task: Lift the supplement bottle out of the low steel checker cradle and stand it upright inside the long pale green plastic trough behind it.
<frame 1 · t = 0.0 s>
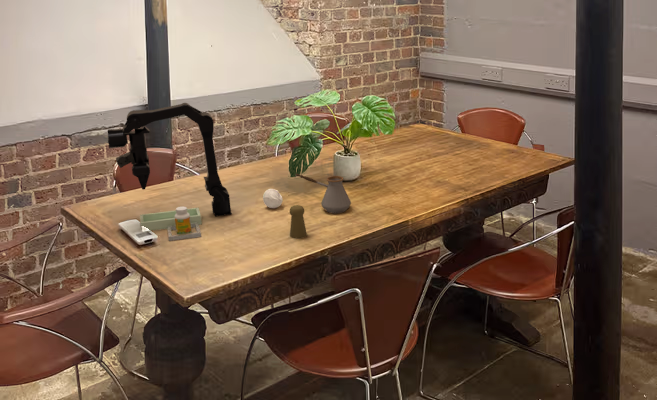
hand: (143, 185, 269), 15 cm above the table, tool pointing down, fingers open, 9 cm apart
supplement bottle: (184, 233, 261), resting in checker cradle
trough: (171, 223, 271), on the table
coffee pot: (323, 210, 279), on the table
brown pawn: (298, 235, 255), on the table
crumpled paper ball: (273, 208, 284), on the table
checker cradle: (184, 233, 261), on the table
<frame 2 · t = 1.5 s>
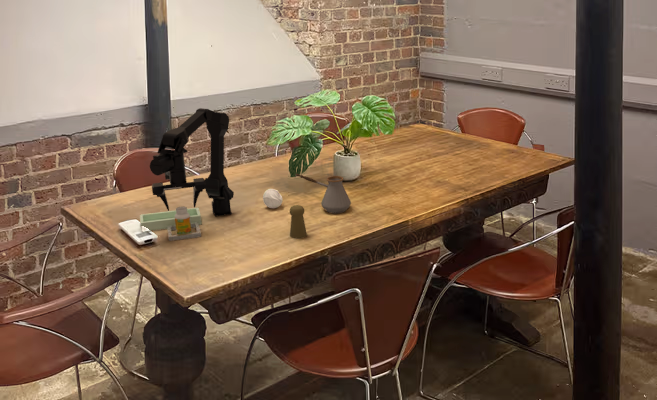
hand: (181, 208, 258), 9 cm above the table, tool pointing down, fingers open, 9 cm apart
nothing on the table moved.
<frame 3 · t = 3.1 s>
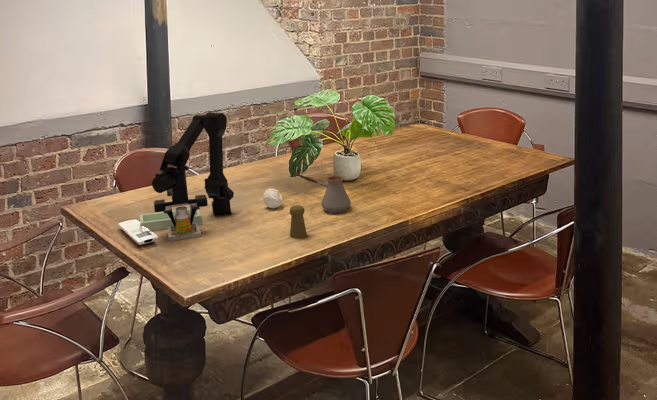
hand: (183, 225, 260), 3 cm above the table, tool pointing down, fingers closed on supplement bottle, 5 cm apart
supplement bottle: (184, 233, 261), resting in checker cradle, touching gripper
everything else where it was.
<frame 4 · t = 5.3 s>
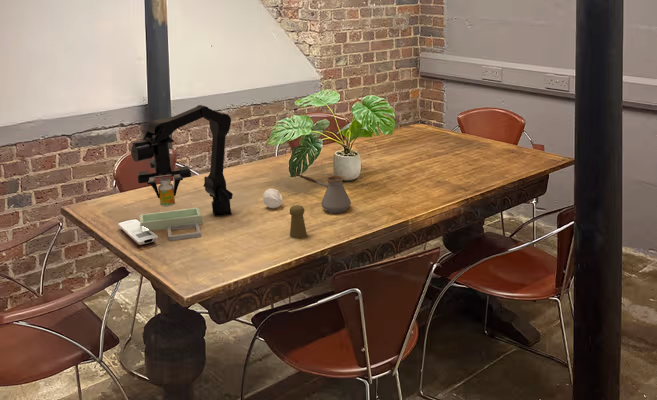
hand: (166, 196, 263), 12 cm above the table, tool pointing down, fingers closed on supplement bottle, 5 cm apart
supplement bottle: (167, 205, 264), point 9 cm above the table, touching gripper
everything else where it was.
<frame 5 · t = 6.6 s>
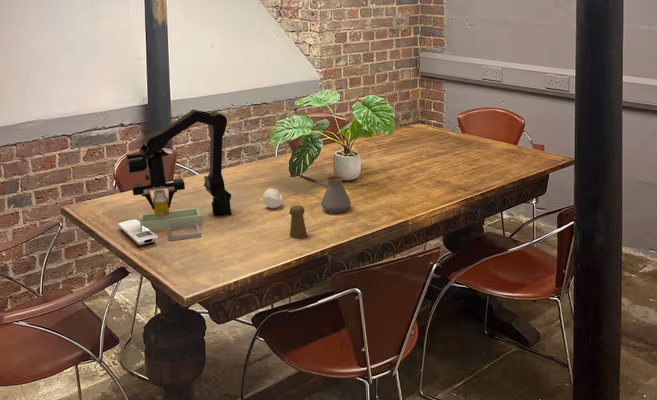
hand: (161, 208, 268), 7 cm above the table, tool pointing down, fingers closed on supplement bottle, 5 cm apart
supplement bottle: (162, 216, 269), point 3 cm above the table, touching gripper
everything else where it was.
when the fingers open (5 cm above the table, at t = 7.6 s): supplement bottle drops 1 cm, resting on trough.
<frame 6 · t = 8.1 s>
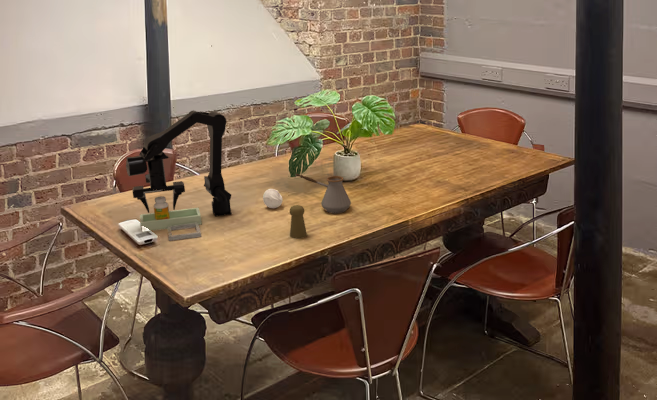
hand: (161, 211, 268), 5 cm above the table, tool pointing down, fingers open, 9 cm apart
supplement bottle: (163, 222, 270), point 1 cm above the table, touching trough
everything else where it was.
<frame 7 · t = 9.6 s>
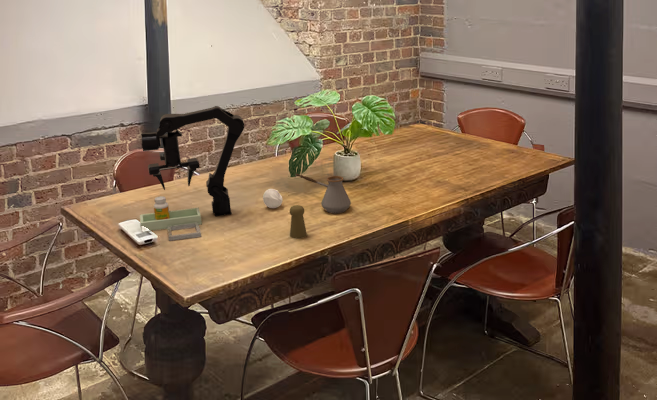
hand: (176, 187, 274), 12 cm above the table, tool pointing down, fingers open, 9 cm apart
nothing on the table moved.
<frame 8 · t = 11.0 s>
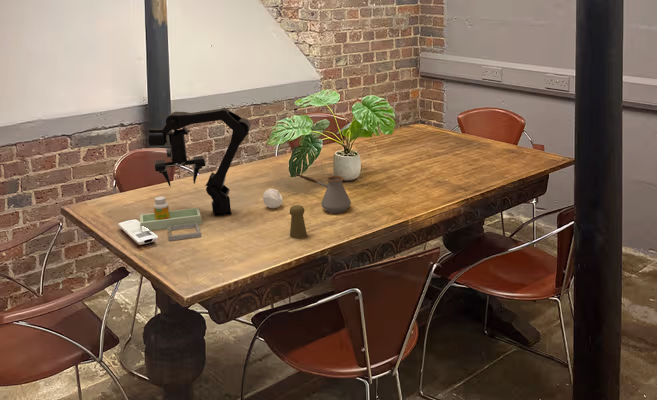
hand: (182, 184, 276), 12 cm above the table, tool pointing down, fingers open, 9 cm apart
nothing on the table moved.
at the end: supplement bottle inside the target area on the trough (2.9 cm from its centre), point 0.8 cm above the trough's base; supplement bottle tilted 0°; the gripper is holding nothing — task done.
